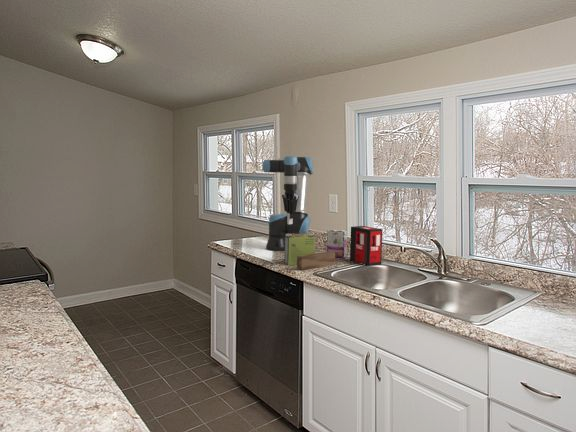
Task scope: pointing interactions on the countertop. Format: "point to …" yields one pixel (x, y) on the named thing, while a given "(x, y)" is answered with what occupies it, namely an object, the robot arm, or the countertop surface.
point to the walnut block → (315, 260)
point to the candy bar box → (337, 242)
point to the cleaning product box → (366, 245)
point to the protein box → (298, 247)
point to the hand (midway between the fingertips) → (289, 224)
